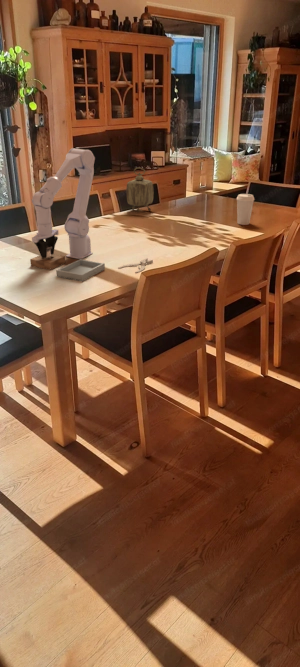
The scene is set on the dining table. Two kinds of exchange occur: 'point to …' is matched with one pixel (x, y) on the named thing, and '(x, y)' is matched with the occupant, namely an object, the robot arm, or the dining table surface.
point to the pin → (48, 252)
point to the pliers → (142, 263)
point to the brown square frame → (47, 262)
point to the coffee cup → (244, 208)
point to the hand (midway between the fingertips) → (47, 255)
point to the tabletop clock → (139, 191)
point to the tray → (80, 270)
